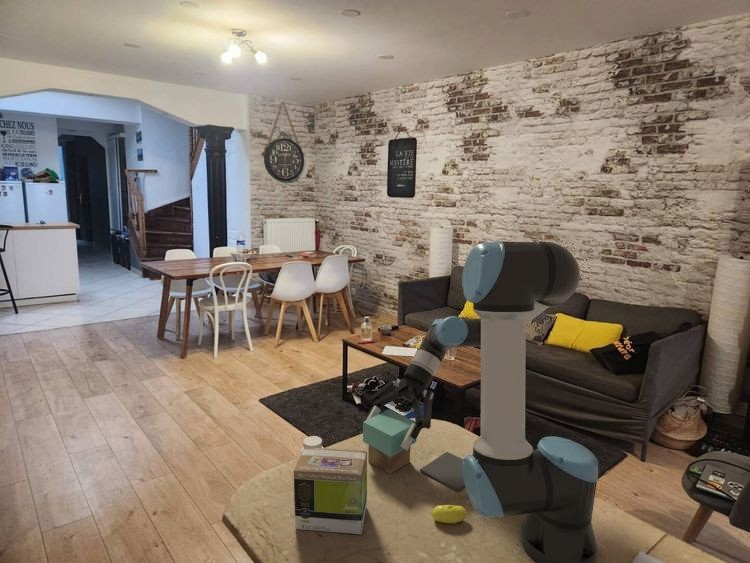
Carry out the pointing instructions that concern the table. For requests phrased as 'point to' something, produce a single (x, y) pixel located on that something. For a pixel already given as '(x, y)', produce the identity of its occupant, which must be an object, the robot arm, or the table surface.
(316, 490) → the tea box
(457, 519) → the yellow oblong rounded piece
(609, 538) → the table surface
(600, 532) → the table surface
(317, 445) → the pill bottle
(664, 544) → the table surface
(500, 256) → the robot arm
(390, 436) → the teal square block
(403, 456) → the walnut box
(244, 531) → the table surface
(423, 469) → the rubber mat
